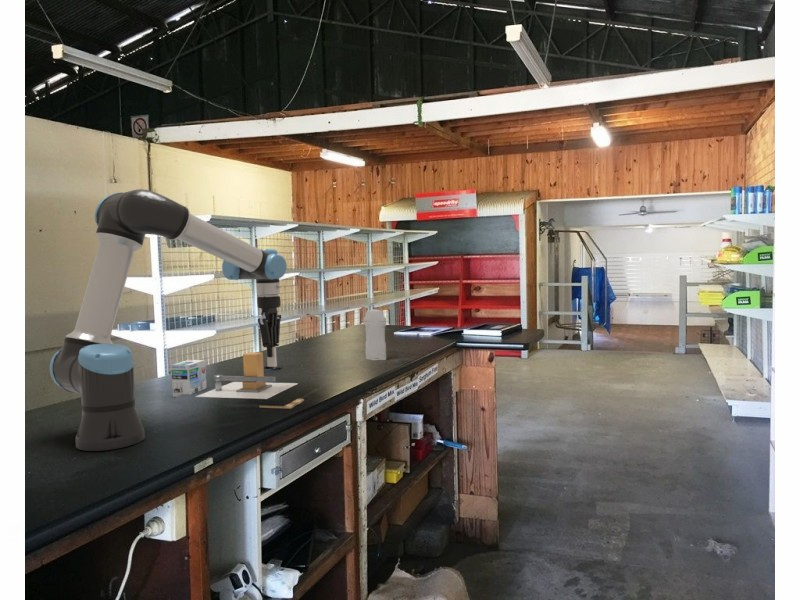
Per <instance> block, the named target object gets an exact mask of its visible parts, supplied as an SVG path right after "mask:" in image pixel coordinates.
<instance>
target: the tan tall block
mask: <svg viewBox="0 0 800 600" xmlns="http://www.w3.org/2000/svg"><path fill="white" fill-rule="evenodd" d="M242 364H243V376H257V377H265V373H264V371H265V370H264V352H261V351H259V352H258V351H256V352H253V351H252V352H250V351H249V352H247V353H243V354H242ZM241 382H242V384H243V390H259V389H261V388H263V387H265V386H266V383H267V382H263V381H241Z"/></svg>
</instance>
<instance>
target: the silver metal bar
mask: <svg viewBox="0 0 800 600" xmlns="http://www.w3.org/2000/svg"><path fill="white" fill-rule="evenodd" d="M212 380H213V382H215V381H221V382H222V381H223V382H224V381H226V382H227V381H228V382H244V381H263V382H266V383H276V381H277V380H276V376H264V377H257V376H244V375H241V376H240V375H223V374H216V375H213V379H212Z"/></svg>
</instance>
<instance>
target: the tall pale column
mask: <svg viewBox="0 0 800 600" xmlns="http://www.w3.org/2000/svg"><path fill="white" fill-rule="evenodd" d="M363 324H364V327H365V328H364V329H365V339H366V340H365V360H366V359H367V361H387V345H386V344H387V343H386V336H385V335H386V326H387V318H386V317H385V316H384V311H383V310H380V309H376V308H375V309H369V310H366V313H365V316H364V317H363Z"/></svg>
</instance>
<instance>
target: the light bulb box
mask: <svg viewBox="0 0 800 600" xmlns="http://www.w3.org/2000/svg"><path fill="white" fill-rule="evenodd" d="M170 366H171V382H172V385H171V386H172V397H173V398H178V397H180V396H184V395H186V396H187V395H193V394H195V393H198V392H200V391H203V390H205V389H207V371H206V369H207V366H206V360H205V359H187V360H184V361H180V362H177V363H173V364H171V365H170Z"/></svg>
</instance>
